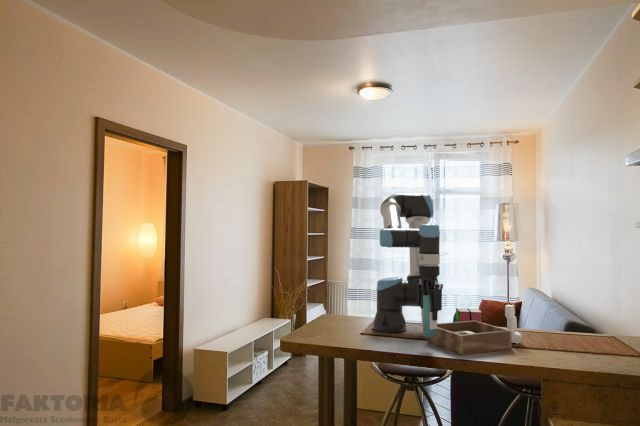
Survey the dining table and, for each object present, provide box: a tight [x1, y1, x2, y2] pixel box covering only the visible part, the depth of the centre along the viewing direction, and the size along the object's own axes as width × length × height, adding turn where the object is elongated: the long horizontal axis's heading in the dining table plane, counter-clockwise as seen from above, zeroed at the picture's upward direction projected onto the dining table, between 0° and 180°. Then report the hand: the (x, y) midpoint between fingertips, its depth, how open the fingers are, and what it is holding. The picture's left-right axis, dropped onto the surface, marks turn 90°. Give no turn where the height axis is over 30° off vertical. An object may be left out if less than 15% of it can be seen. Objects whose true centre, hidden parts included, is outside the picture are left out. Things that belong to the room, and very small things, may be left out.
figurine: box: [504, 304, 524, 345], centre depth 173 cm, size 7×9×15 cm
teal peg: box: [422, 295, 435, 338], centre depth 161 cm, size 4×4×15 cm
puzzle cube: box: [455, 307, 483, 323], centre depth 190 cm, size 10×10×10 cm
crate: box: [426, 321, 513, 356], centre depth 168 cm, size 20×24×7 cm
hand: (429, 327), depth 161 cm, fingers closed on teal peg, 4 cm apart
